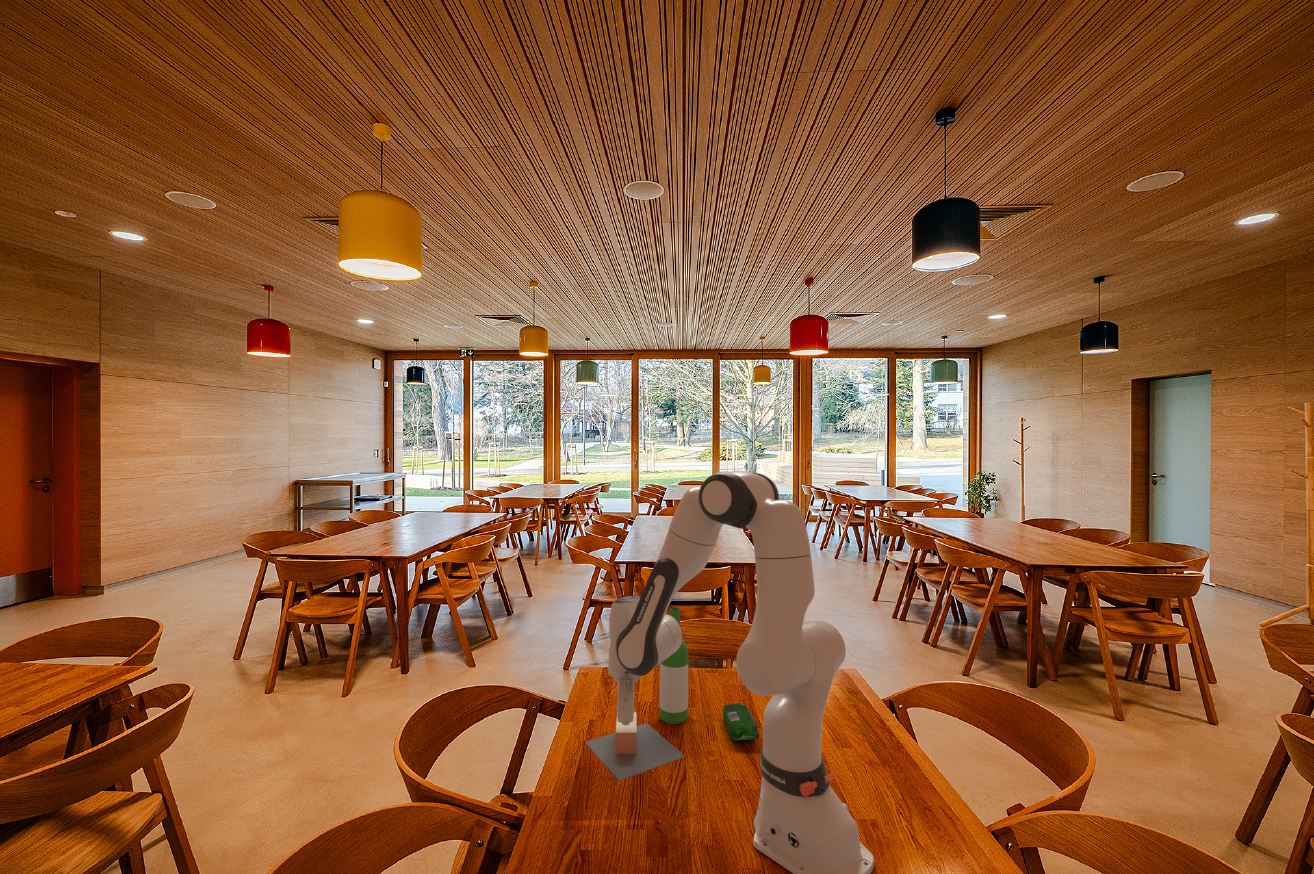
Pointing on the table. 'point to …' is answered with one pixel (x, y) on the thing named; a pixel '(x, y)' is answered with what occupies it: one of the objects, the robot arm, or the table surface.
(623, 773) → the mat
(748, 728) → the snack package
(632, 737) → the block
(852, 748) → the table surface
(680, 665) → the wine bottle
